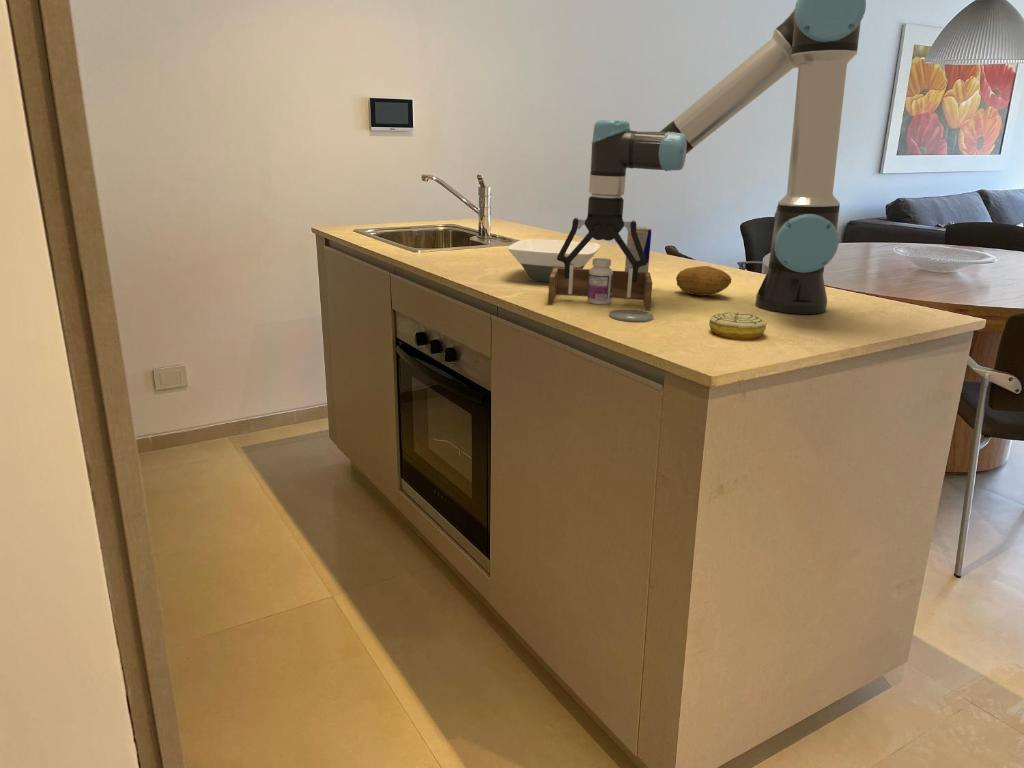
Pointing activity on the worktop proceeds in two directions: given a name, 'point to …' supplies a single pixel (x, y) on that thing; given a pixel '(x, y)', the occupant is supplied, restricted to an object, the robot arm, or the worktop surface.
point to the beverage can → (645, 241)
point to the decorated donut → (737, 325)
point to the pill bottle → (600, 282)
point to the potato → (703, 280)
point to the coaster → (631, 315)
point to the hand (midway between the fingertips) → (599, 294)
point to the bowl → (548, 256)
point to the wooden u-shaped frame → (619, 286)
